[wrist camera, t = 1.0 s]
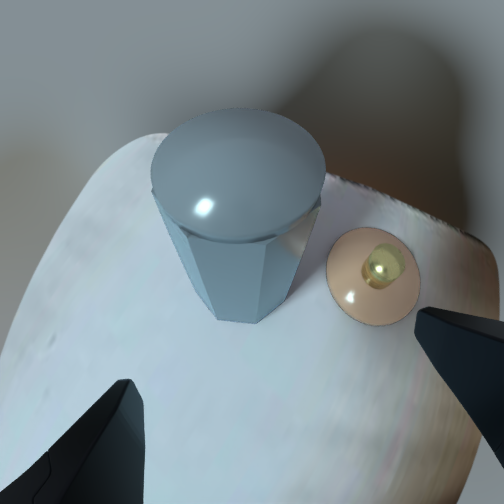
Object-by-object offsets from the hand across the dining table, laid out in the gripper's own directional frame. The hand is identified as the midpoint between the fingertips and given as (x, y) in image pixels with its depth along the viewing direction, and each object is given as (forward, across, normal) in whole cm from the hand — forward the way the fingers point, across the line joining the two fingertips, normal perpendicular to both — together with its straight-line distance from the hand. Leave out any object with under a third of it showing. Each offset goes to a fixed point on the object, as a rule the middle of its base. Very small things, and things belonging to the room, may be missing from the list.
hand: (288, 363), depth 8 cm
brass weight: (+14, -11, +5) cm, 18 cm away
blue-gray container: (+15, 0, +4) cm, 16 cm away
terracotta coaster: (+14, -11, +5) cm, 18 cm away
